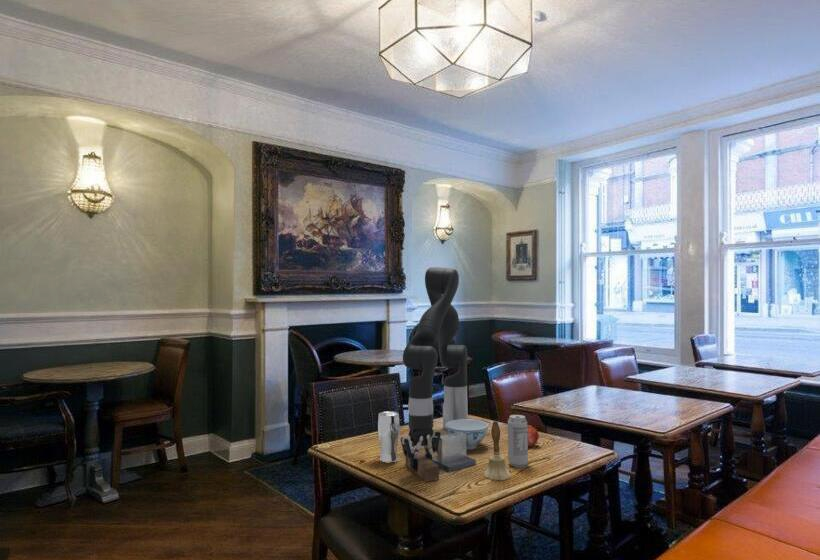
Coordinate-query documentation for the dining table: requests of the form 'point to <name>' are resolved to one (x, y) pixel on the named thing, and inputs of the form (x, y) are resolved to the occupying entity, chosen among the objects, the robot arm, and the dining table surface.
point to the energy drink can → (517, 441)
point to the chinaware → (468, 430)
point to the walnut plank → (425, 467)
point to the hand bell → (496, 459)
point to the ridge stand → (453, 452)
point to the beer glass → (388, 435)
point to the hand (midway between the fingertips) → (421, 468)
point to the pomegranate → (532, 435)
